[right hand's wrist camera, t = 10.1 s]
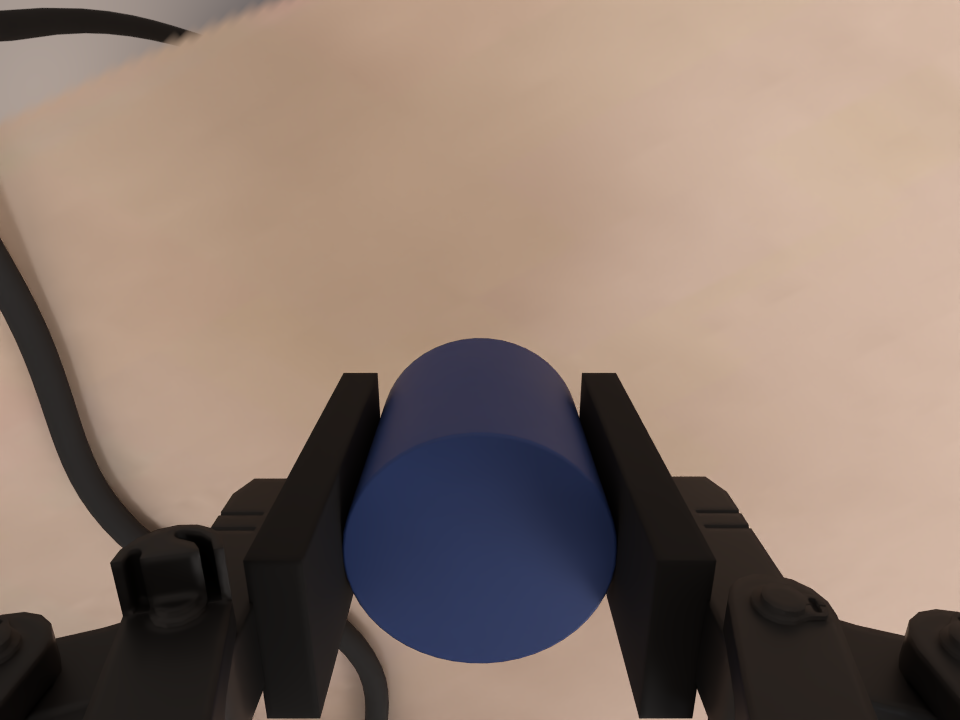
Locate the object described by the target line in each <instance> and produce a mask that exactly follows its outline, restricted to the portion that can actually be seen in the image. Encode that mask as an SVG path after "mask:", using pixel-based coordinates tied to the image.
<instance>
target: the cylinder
mask: <svg viewBox="0 0 960 720" xmlns="http://www.w3.org/2000/svg"><path fill="white" fill-rule="evenodd" d="M342 549H343V562H344V567H345V571H346V576H347V579H348V581H349V584H350V586H351V589H352V591H353V593H354V595H355V597H356V598H357V600H358V602H359V604H360V605H361V606H362V608H363V609H364V610H365V612H366V613H367V614H368V616H369V617H370V618H371V619H372V620H373V621H374V622H375V623H376V624H377V625H378V626H379V627H380V628H382V629H383V630H384V631H385V632H387V633H388V634H389V635H390V636H392V637H393V638H395V639H396V640H398V641H400V642H401V643H403V644H405V645H406V646H409V647H411V648H413V649H415V650H417V651H419V652H422V653H425V654H428V655H431V656H434V657H437V658H441V659H446V660H450V661H456V662H465V663H494V662H504V661H509V660H514V659H519V658H522V657H526V656H529V655H532V654H535V653H538V652H540V651H542V650H545V649H547V648H549V647H551V646H553V645H555V644H556V643H558V642H560V641H562V640H563V639H565V638H566V637H568V636H569V635H570V634H572V633H573V632H574V631H576V630H577V629H578V628H579V627H580V626H581V625H582V624H583V623H584V622H585V621H587V620H588V618H589V617H590V616H591V615H592V614H593V612H594V611H595V610H596V609H597V607H598V606H599V604H600V603H601V601H602V599H603V598H604V596H605V594H606V592H607V590H608V588H609V585H610V583H611V581H612V577H613V573H614V570H615V566H616V556H617V534H616V529H615V524H614V520H613V516H612V514H611V511H610V508H609V505H608V502H607V499H606V496H605V493H604V490H603V487H602V484H601V481H600V478H599V475H598V472H597V469H596V466H595V463H594V460H593V457H592V454H591V451H590V448H589V445H588V442H587V439H586V436H585V433H584V431H583V428H582V425H581V422H580V419H579V416H578V413H577V410H576V407H575V404H574V401H573V399H572V396H571V393H570V391H569V389H568V388H567V386H566V384H565V382H564V381H563V379H562V378H561V377H560V375H559V374H558V373H557V372H556V371H555V370H554V369H553V368H552V367H551V366H550V365H549V364H548V363H547V362H546V361H545V360H543V359H542V358H541V357H539V356H538V355H536V354H535V353H533V352H531V351H529V350H528V349H526V348H523V347H521V346H518V345H516V344H513V343H510V342H506V341H502V340H496V339H488V338H473V339H463V340H458V341H454V342H450V343H447V344H444V345H441V346H439V347H436V348H434V349H432V350H430V351H429V352H427V353H425V354H423V355H422V356H420V357H419V358H418V359H416V360H415V361H414V362H413V363H411V364H410V365H409V366H408V367H407V368H406V369H405V370H404V371H403V373H402V374H401V375H400V376H399V378H398V379H397V380H396V382H395V384H394V385H393V387H392V389H391V391H390V393H389V395H388V398H387V400H386V403H385V406H384V409H383V412H382V415H381V418H380V421H379V424H378V427H377V429H376V432H375V435H374V438H373V441H372V444H371V447H370V450H369V453H368V456H367V459H366V462H365V465H364V468H363V471H362V474H361V477H360V480H359V483H358V485H357V488H356V491H355V494H354V497H353V500H352V503H351V506H350V509H349V512H348V515H347V519H346V523H345V527H344V531H343V541H342Z"/></svg>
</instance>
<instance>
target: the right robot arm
mask: <svg viewBox="0 0 960 720" xmlns="http://www.w3.org/2000/svg"><path fill="white" fill-rule="evenodd" d="M82 33H91V34H111V35H121V36H130V37H136V38H142V39H148V40H153V41H157V42H162V43H166V44H170V43H175V42H178V41H180V40H182V39H183V38H185V37H187V36H189V35H192V34H197V33H195V32H192V31H189V30H185V29H182V28H179V27H176V26H173V25H169V24H166V23H162V22H159V21H155V20H151V19H147V18H143V17H138V16H134V15H129V14H123V13H117V12H111V11H103V10H93V9H83V8H31V9H15V10H0V42H2V41H15V40H23V39H30V38H37V37H45V36H52V35H62V34H82ZM0 310H1V312H2V314H3V316H4V318H5V320H6V322H7V324H8V326H9V328H10V330H11V332H12V334H13V336H14V338H15V340H16V342H17V345H18V347H19V349H20V351H21V354H22V356H23V358H24V361H25V363H26V366H27V369H28V371H29V374H30V376H31V379H32V382H33V384H34V387H35V390H36V393H37V396H38V399H39V402H40V405H41V407H42V410H43V413H44V416H45V419H46V422H47V425H48V428H49V431H50V434H51V437H52V440H53V442H54V445H55V448H56V451H57V453H58V455H59V458H60V460H61V463H62V465H63V467H64V469H65V471H66V474H67V476H68V478H69V480H70V482H71V484H72V485H73V487H74V489H75V491H76V492H77V494H78V496H79V498H80V499H81V500H82V502H83V503H84V505H85V506H86V508H87V509H88V511H89V512H90V513H91V515H92V516H93V517H94V518H95V519H96V521H97V522H98V523H99V524H100V525H101V527H102V528H103V529H104V530H105V531H106V532H107V533H108V534H109V535H110V536H111V537H112V538H113V539H114V540H115V541H116V542H117V543H118V544H119V545H120V546H121V547H123V548H122V549H121V550H120V551H119V552H118V553H117V555H116V556H115V557H114V559H113V560H112V561H111V562H110V564H111V568H112V572H113V577H114V581H115V585H116V589H117V593H118V597H119V602H120V606H121V610H122V614H123V618H122V620H121V623H118V624H115V625H111V626H108V627H104V628H101V629H96V630H92V631H87V632H83V633H78V634H74V635H69V636H65V637H60V638H56V639H55V636H54V632H53V629H52V625H51V623H50V622H49V621H48V620H47V619H45V618H44V617H43V616H42V615H39V614H33V613H27V612H21V613H12V614H4V615H0V720H252V718H253V715H254V713H255V710H256V707H257V705H258V702H259V699H260V697H261V694H262V692H263V694H264V700H265V707H266V713H267V718H320V717H321V713H322V710H323V706H324V702H325V698H326V695H327V691H328V687H329V683H330V680H331V676H332V672H333V668H334V665H335V661H336V657H337V653H338V649H339V650H340V651H341V652H342V653H343V654H344V655H346V657H347V658H348V659H349V661H350V662H351V663H352V665H353V666H354V667H355V669H356V671H357V673H358V674H359V677H360V680H361V682H362V685H363V690H364V695H365V720H388V707H389V700H388V688H387V682H386V678H385V675H384V672H383V669H382V666H381V664H380V662H379V660H378V658H377V657H376V655H375V653H374V651H373V650H372V648H371V647H370V645H369V644H368V643H367V641H366V640H365V638H364V637H363V636H362V635H361V634H360V633H359V632H358V631H357V630H356V629H355V628H354V627H353V626H352V625H351V624H350V623H349V622H348V621H347V620H346V619H347V616H348V612H349V608H350V604H351V601H352V597H353V591H352V589H351V586H350V584H349V581H348V579H347V576H346V571H345V567H344V562H343V549H342V541H343V531H344V527H345V523H346V519H347V515H348V512H349V509H350V506H351V503H352V500H353V497H354V494H355V491H356V488H357V485H358V483H359V480H360V477H361V474H362V471H363V468H364V465H365V462H366V459H367V456H368V453H369V450H370V447H371V444H372V441H373V438H374V435H375V432H376V429H377V427H378V424H379V421H380V407H379V390H378V373H343V375H342V377H341V379H340V381H339V383H338V385H337V386H336V388H335V390H334V392H333V394H332V396H331V398H330V399H329V401H328V403H327V405H326V407H325V409H324V411H323V413H322V414H321V416H320V418H319V420H318V422H317V424H316V426H315V427H314V429H313V431H312V433H311V435H310V437H309V439H308V440H307V442H306V444H305V446H304V448H303V450H302V452H301V453H300V455H299V457H298V459H297V461H296V463H295V465H294V466H293V468H292V470H291V472H290V474H289V476H288V478H287V479H253V480H252V481H251V482H249V483H248V484H246V485H245V486H244V487H242V488H241V489H239V490H238V491H237V492H235V493H234V494H233V495H232V496H231V498H230V499H229V501H228V502H227V504H226V505H225V507H224V508H223V510H222V511H221V516H218V517H217V519H216V521H215V522H214V524H213V525H212V527H211V528H208V527H205V526H201V525H176V526H172V527H167V528H163V529H158V530H155V531H153V532H150V531H148V530H147V529H146V528H145V527H144V526H142V525H141V524H140V523H139V522H138V521H137V520H136V519H135V518H134V517H133V516H132V514H131V513H130V512H129V511H128V510H127V509H126V508H125V507H124V505H123V504H122V503H121V502H120V500H119V499H118V498H117V497H116V495H115V494H114V492H113V491H112V489H111V488H110V486H109V485H108V483H107V482H106V480H105V478H104V476H103V475H102V473H101V471H100V469H99V467H98V465H97V463H96V461H95V459H94V456H93V454H92V452H91V449H90V447H89V444H88V441H87V439H86V436H85V433H84V430H83V427H82V424H81V421H80V418H79V415H78V412H77V409H76V405H75V402H74V399H73V396H72V393H71V390H70V387H69V384H68V381H67V378H66V375H65V371H64V369H63V366H62V363H61V360H60V358H59V355H58V352H57V350H56V347H55V345H54V342H53V340H52V337H51V335H50V333H49V330H48V328H47V326H46V323H45V321H44V319H43V317H42V315H41V313H40V311H39V308H38V306H37V304H36V302H35V301H34V299H33V297H32V295H31V293H30V291H29V289H28V287H27V285H26V283H25V281H24V280H23V278H22V276H21V274H20V272H19V271H18V269H17V267H16V265H15V263H14V262H13V260H12V258H11V256H10V254H9V253H8V251H7V249H6V247H5V246H4V244H3V242H2V240H1V239H0ZM579 419H580V422H581V425H582V428H583V431H584V433H585V436H586V439H587V442H588V445H589V448H590V451H591V454H592V457H593V460H594V463H595V466H596V469H597V472H598V475H599V478H600V481H601V484H602V487H603V490H604V493H605V496H606V499H607V502H608V505H609V508H610V511H611V514H612V516H613V520H614V524H615V529H616V534H617V556H616V566H615V570H614V573H613V577H612V581H611V583H610V585H609V588H608V590H607V592H606V595H607V599H608V602H609V606H610V610H611V614H612V617H613V621H614V625H615V629H616V632H617V636H618V640H619V644H620V647H621V651H622V655H623V659H624V662H625V666H626V670H627V674H628V677H629V681H630V685H631V689H632V692H633V696H634V700H635V704H636V707H637V711H638V715H639V718H692V717H693V710H694V704H695V697H696V691H697V690H698V692H699V695H700V697H701V700H702V703H703V705H704V708H705V711H706V713H707V716H708V720H960V612H955V611H946V610H938V609H934V610H928V611H923V612H918V613H917V614H916V615H915V616H914V617H913V618H911V619H910V620H909V623H908V627H907V630H906V634H905V636H903V635H898V634H894V633H889V632H885V631H880V630H876V629H871V628H867V627H862V626H858V625H854V624H851V623H848V622H844V621H841V620H839V619H838V617H837V615H836V613H835V612H834V610H833V609H832V607H831V606H830V604H829V603H828V601H826V600H825V599H824V598H823V597H821V596H820V595H819V594H818V593H816V592H815V591H814V590H813V589H811V588H809V587H807V586H805V585H803V584H801V583H798V582H796V581H794V580H792V579H788V578H784V577H783V576H782V574H781V573H780V571H779V570H778V568H777V567H776V565H775V564H774V562H773V561H772V559H771V558H770V556H769V555H768V553H767V552H766V550H765V549H764V547H763V546H762V544H761V543H760V541H759V540H758V538H757V537H756V535H755V534H754V532H753V531H752V529H751V528H749V525H748V523H747V522H746V520H745V518H744V517H743V515H742V514H741V513H739V509H738V508H737V506H736V505H735V503H734V502H733V500H732V499H731V497H730V496H729V494H728V493H727V492H726V491H725V490H723V489H722V488H721V487H719V486H718V485H716V484H715V483H714V482H712V481H711V480H709V479H708V478H707V477H671V475H670V473H669V471H668V469H667V467H666V465H665V464H664V462H663V460H662V458H661V456H660V454H659V452H658V451H657V449H656V447H655V445H654V443H653V441H652V439H651V438H650V436H649V434H648V432H647V430H646V428H645V426H644V424H643V423H642V421H641V419H640V417H639V415H638V413H637V411H636V410H635V408H634V406H633V404H632V402H631V400H630V398H629V397H628V395H627V393H626V391H625V389H624V387H623V385H622V384H621V382H620V380H619V378H618V376H617V374H616V373H582V383H581V400H580V416H579Z"/></svg>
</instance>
